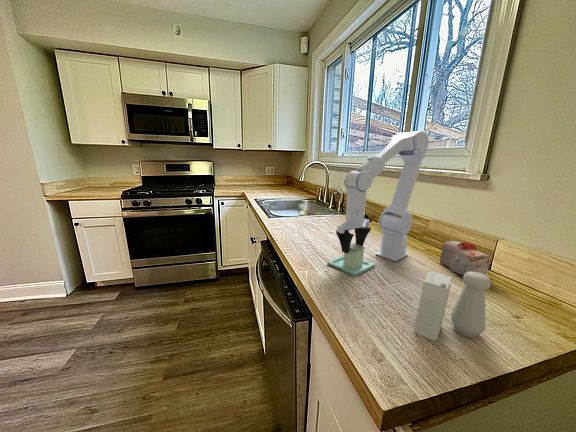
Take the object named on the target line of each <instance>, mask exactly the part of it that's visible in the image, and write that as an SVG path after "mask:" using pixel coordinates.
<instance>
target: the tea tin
mask: <svg viewBox="0 0 576 432" xmlns="http://www.w3.org/2000/svg"><path fill="white" fill-rule="evenodd" d="M364 251H365V246H364V245H363V246H360V245H357V244H356V243H353V242H351V244H350V249H349V253H348V254H346V253H344V252H343V256H344V262H343V265H345V266H347V267H349V268H352V269H354V270H355V269H357V268H359V267H361V266H362V264H363V260H364V254H365V252H364Z"/></svg>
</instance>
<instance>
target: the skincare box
mask: <svg viewBox="0 0 576 432" xmlns="http://www.w3.org/2000/svg"><path fill="white" fill-rule="evenodd" d="M452 282H453V276H450V275H446V274H444V273H443V274H442V273H438V272H435V271H429V272H428V274H427V275H426V277H425V279H424V281H423V285H422V289H421V294H420V299H419V302H418V303H419V304H418V308H417V314H416V319H415V324H414V330H413V332H414V333H415V334H418V335H420V336H422V337H423V338H425V339H429V340H431V341H433V342H437V341H438V338H439V335H440V332H441V328H442V326H443V322H444V317H445V313H446V308H447V304H448V299H449V296H450V290H451V286H452Z"/></svg>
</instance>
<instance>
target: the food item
mask: <svg viewBox="0 0 576 432" xmlns="http://www.w3.org/2000/svg"><path fill="white" fill-rule="evenodd" d="M477 249H478V246H476V245H475V244H474V243H469V242H467V241H465V242H460V241H455V240H447V241H444V242H443V243H442V247H441V254H440V258H439V263H440V264H443V265H444V266H446V267H448V268H449V271H451V272H453V273H456V274H458V275H461V277H464V274H465V273H467V272H478V273H482V274H484V275H486V276H487V272H488V269H489V268H490V264H491V263H490V262H491V260H492V256H491V255H488V254H485V253H484V252H481V251H479V250H477Z"/></svg>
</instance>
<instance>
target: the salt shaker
mask: <svg viewBox="0 0 576 432" xmlns="http://www.w3.org/2000/svg"><path fill="white" fill-rule="evenodd" d="M462 281H463V283H464V284H465V285H464V286H463V288H462V291H461V292H460V294H459V297H458V299H457V301H456V304H455V306H454V307H453V310H452V311H451V314H450V315H451V316H450V321H451V323H452V324H453V328H454V330H455V332H456V333H458V334H460V335H462V336H463V337H465V338H471V339H476V338H477V337H478V336H479V335H480V334H482V333H483V332H484V331H485V330H486V291H487V290H489V289H490V287H491V285H492V281H491V278H490V277H489V276H487V274H486V275H484V274H482V273H478V272H467V273H465V274H464V276H462Z"/></svg>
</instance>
